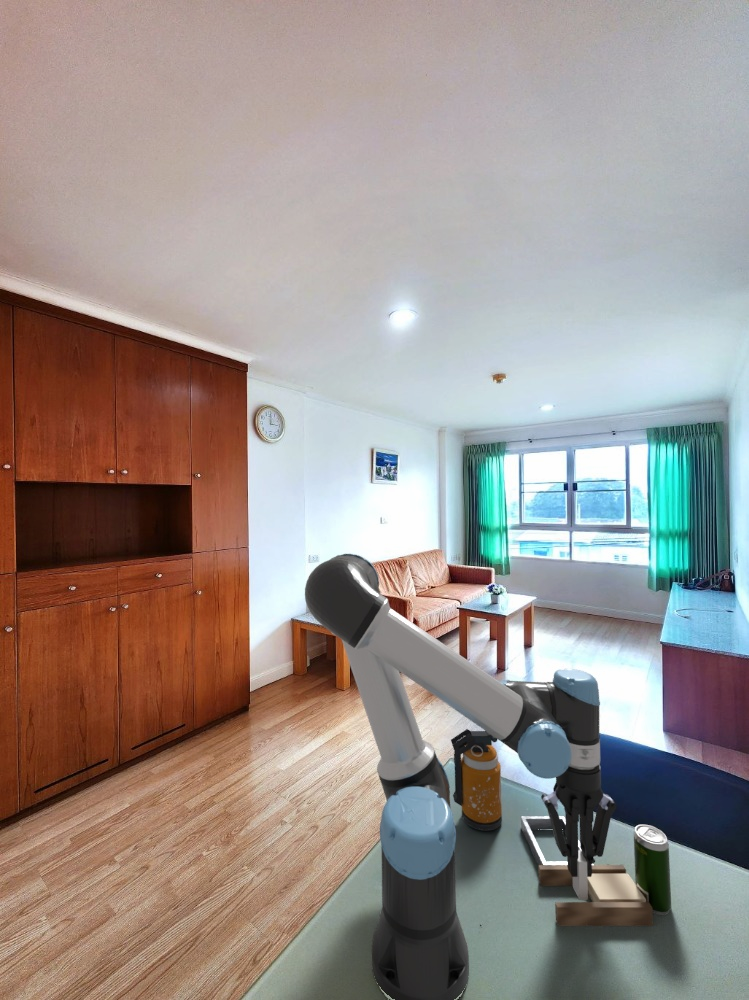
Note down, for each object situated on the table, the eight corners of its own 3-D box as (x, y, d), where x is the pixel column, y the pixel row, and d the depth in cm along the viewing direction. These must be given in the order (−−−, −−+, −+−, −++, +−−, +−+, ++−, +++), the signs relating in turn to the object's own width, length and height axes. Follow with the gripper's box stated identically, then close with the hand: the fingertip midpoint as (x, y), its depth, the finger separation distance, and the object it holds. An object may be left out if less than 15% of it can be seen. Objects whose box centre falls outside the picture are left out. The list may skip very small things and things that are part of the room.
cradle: (594, 878, 83) (593, 864, 83) (543, 878, 84) (543, 864, 84) (564, 827, 97) (564, 816, 97) (521, 827, 97) (520, 816, 97)
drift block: (600, 917, 76) (599, 899, 76) (585, 890, 81) (584, 873, 81) (646, 917, 76) (645, 899, 76) (628, 890, 81) (628, 873, 81)
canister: (507, 833, 95) (504, 740, 96) (456, 834, 96) (454, 741, 96) (496, 806, 104) (493, 721, 105) (450, 806, 105) (448, 722, 105)
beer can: (660, 921, 74) (657, 849, 75) (629, 898, 79) (627, 830, 79) (678, 907, 77) (674, 838, 77) (646, 885, 82) (644, 819, 82)
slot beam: (558, 925, 74) (557, 907, 74) (538, 881, 83) (538, 865, 83) (652, 925, 74) (652, 907, 74) (623, 881, 83) (622, 864, 83)
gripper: (549, 771, 76) (552, 911, 75) (624, 771, 75) (628, 912, 75) (534, 748, 83) (536, 875, 82) (602, 748, 83) (605, 876, 82)
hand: (580, 892), depth 78 cm, fingers closed
